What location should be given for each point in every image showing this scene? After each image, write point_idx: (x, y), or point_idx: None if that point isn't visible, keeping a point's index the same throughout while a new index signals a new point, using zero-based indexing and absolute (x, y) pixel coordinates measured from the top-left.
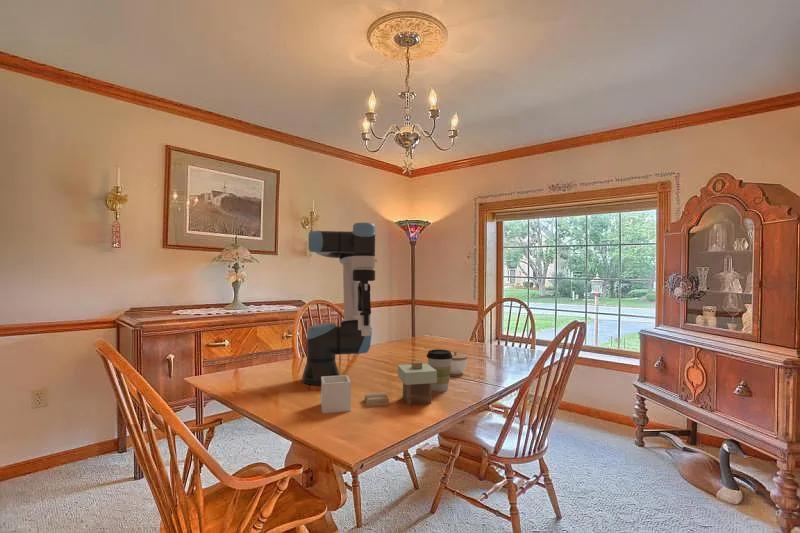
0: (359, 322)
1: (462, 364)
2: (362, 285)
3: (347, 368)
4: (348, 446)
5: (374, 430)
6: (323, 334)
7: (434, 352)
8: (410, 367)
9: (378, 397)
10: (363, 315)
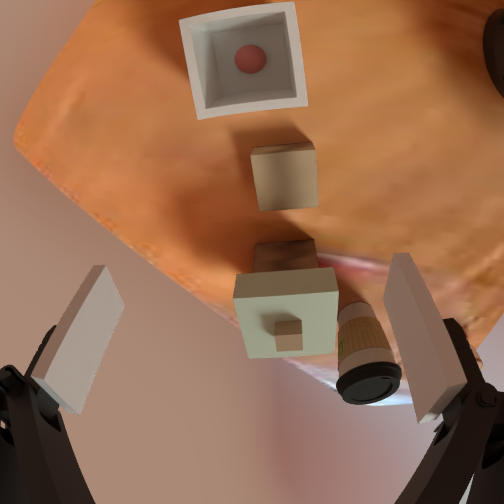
0: (411, 304)
1: None
2: None
3: None
4: (48, 125)
5: (113, 165)
6: None
7: (381, 381)
8: (299, 317)
9: (269, 186)
10: (37, 383)
